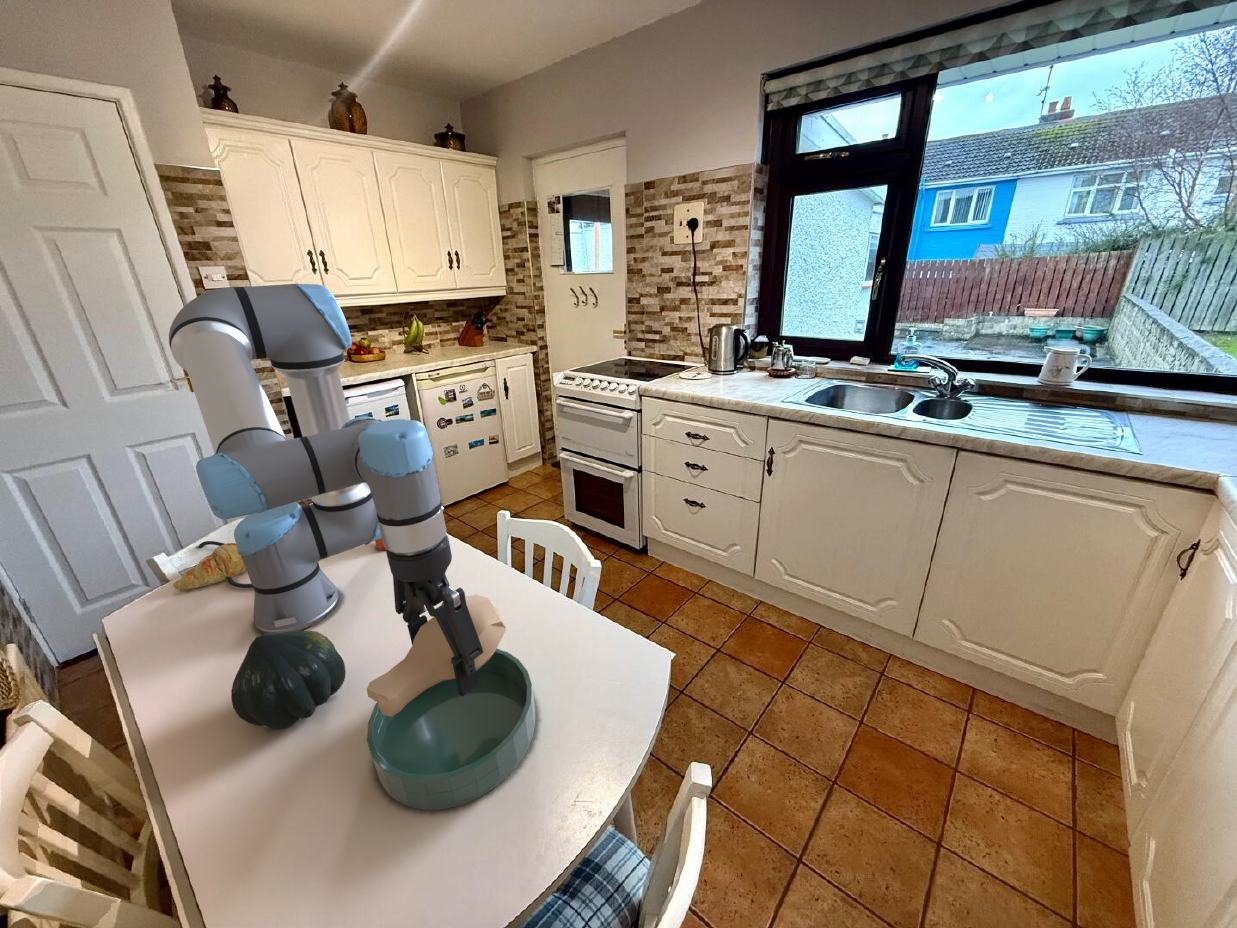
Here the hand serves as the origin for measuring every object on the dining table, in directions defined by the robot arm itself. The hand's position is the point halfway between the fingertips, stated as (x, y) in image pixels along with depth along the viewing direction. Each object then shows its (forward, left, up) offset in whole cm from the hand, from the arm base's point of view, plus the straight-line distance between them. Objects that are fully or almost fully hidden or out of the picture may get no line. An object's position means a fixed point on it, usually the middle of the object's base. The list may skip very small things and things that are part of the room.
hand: (446, 670), depth 71 cm
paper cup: (-61, +22, -13) cm, 66 cm away
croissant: (-82, -7, -13) cm, 83 cm away
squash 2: (0, 0, 0) cm, 0 cm away
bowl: (0, 0, -13) cm, 13 cm away
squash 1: (-26, -13, -13) cm, 32 cm away
